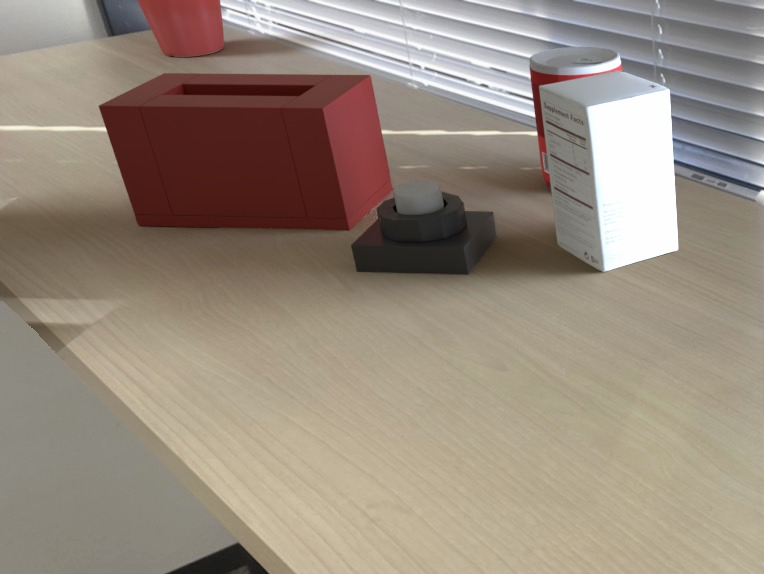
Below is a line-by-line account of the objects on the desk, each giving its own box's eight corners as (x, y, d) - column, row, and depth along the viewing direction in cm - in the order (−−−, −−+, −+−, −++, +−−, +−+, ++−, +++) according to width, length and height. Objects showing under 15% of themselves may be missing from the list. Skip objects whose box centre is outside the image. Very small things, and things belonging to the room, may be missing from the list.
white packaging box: (632, 226, 97) (620, 67, 90) (680, 252, 92) (672, 86, 85) (554, 246, 94) (535, 83, 86) (600, 274, 89) (585, 104, 82)
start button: (390, 218, 90) (386, 195, 89) (406, 202, 93) (402, 180, 91) (435, 219, 89) (431, 196, 88) (450, 203, 92) (446, 181, 91)
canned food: (626, 196, 103) (616, 66, 97) (537, 197, 104) (521, 67, 97) (633, 169, 110) (624, 45, 103) (549, 170, 110) (535, 46, 103)
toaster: (137, 225, 100) (98, 105, 94) (197, 185, 108) (163, 72, 102) (349, 230, 98) (322, 108, 92) (393, 189, 106) (370, 74, 100)
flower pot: (150, 64, 147) (125, -20, 142) (150, 46, 156) (126, -34, 150) (238, 55, 151) (217, -28, 145) (233, 38, 159) (213, -41, 153)
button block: (356, 272, 90) (345, 222, 88) (392, 235, 97) (382, 187, 94) (468, 275, 89) (460, 224, 87) (497, 237, 96) (490, 189, 93)
